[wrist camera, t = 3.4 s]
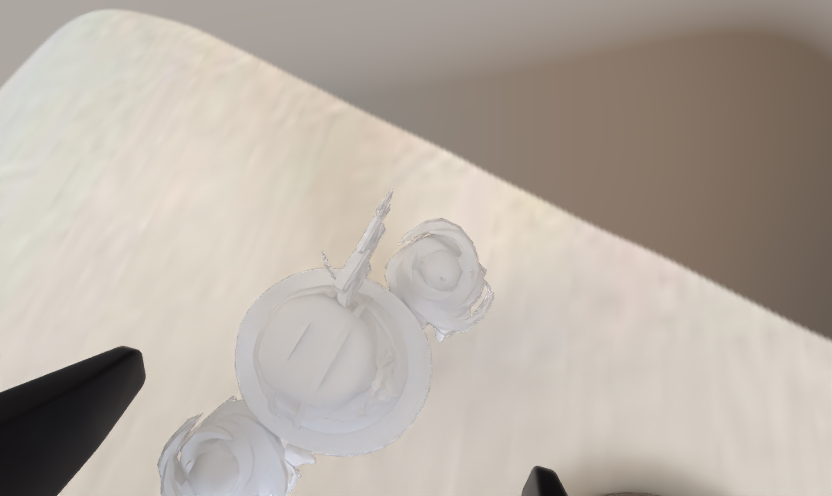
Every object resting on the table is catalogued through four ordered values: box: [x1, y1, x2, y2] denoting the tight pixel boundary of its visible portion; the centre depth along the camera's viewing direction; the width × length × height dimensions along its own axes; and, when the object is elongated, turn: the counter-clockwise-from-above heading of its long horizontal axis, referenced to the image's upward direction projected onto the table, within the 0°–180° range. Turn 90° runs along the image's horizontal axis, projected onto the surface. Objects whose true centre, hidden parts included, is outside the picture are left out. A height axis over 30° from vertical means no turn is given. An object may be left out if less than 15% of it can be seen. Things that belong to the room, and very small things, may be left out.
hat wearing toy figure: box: [157, 189, 494, 496], centre depth 12 cm, size 9×4×12 cm, turn 132°
